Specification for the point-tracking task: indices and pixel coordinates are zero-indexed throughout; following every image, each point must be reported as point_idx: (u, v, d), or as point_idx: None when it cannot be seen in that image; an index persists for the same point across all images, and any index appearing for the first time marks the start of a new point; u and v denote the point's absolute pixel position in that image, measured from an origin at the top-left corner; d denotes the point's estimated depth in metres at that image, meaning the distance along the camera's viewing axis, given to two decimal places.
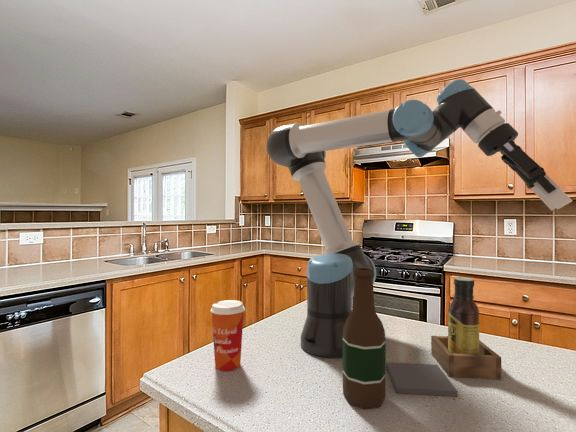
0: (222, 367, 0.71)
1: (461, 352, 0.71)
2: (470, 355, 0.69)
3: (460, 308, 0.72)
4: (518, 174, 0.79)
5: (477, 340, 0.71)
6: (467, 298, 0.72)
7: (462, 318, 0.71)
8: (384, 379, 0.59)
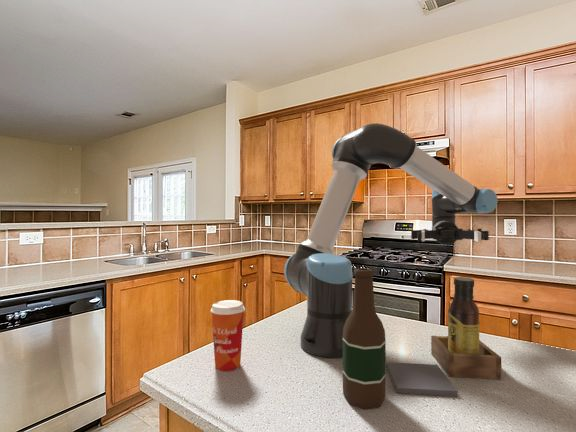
0: (222, 367, 0.71)
1: (461, 352, 0.71)
2: (470, 355, 0.69)
3: (460, 308, 0.72)
4: (421, 230, 1.01)
5: (477, 340, 0.71)
6: (467, 298, 0.72)
7: (462, 318, 0.71)
8: (384, 379, 0.59)
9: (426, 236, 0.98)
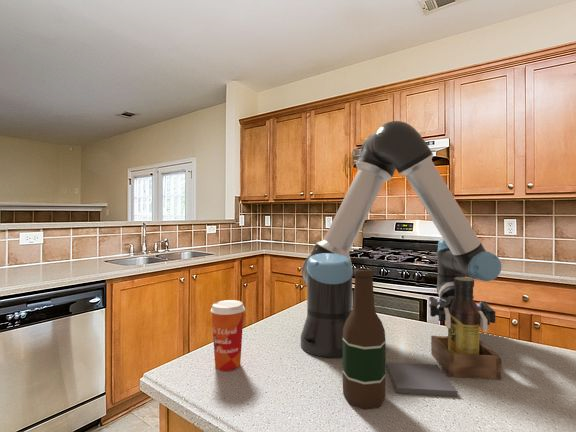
0: (222, 367, 0.71)
1: (461, 352, 0.71)
2: (470, 355, 0.69)
3: (460, 308, 0.72)
4: (436, 302, 0.82)
5: (477, 340, 0.71)
6: (467, 298, 0.72)
7: (462, 318, 0.71)
8: (384, 379, 0.59)
9: None
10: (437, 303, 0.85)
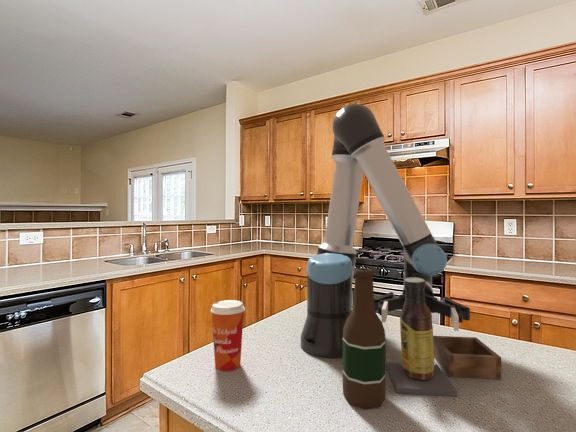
0: (222, 367, 0.71)
1: (413, 361, 0.65)
2: (470, 355, 0.69)
3: (410, 313, 0.65)
4: (384, 297, 0.77)
5: (430, 347, 0.65)
6: (417, 302, 0.65)
7: (412, 324, 0.64)
8: (384, 379, 0.59)
9: (391, 307, 0.74)
10: None
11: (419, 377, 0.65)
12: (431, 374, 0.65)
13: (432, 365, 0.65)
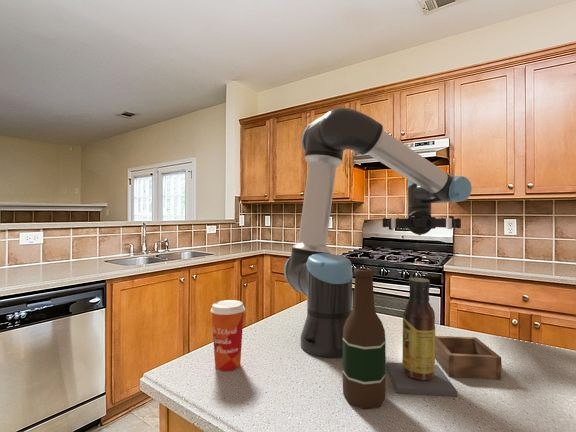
0: (222, 367, 0.71)
1: (414, 360, 0.65)
2: (470, 355, 0.69)
3: (413, 312, 0.65)
4: None
5: (432, 347, 0.65)
6: (421, 301, 0.65)
7: (415, 323, 0.65)
8: (384, 379, 0.59)
9: (398, 224, 0.94)
10: None
11: (419, 377, 0.65)
12: (431, 375, 0.65)
13: (433, 366, 0.65)
